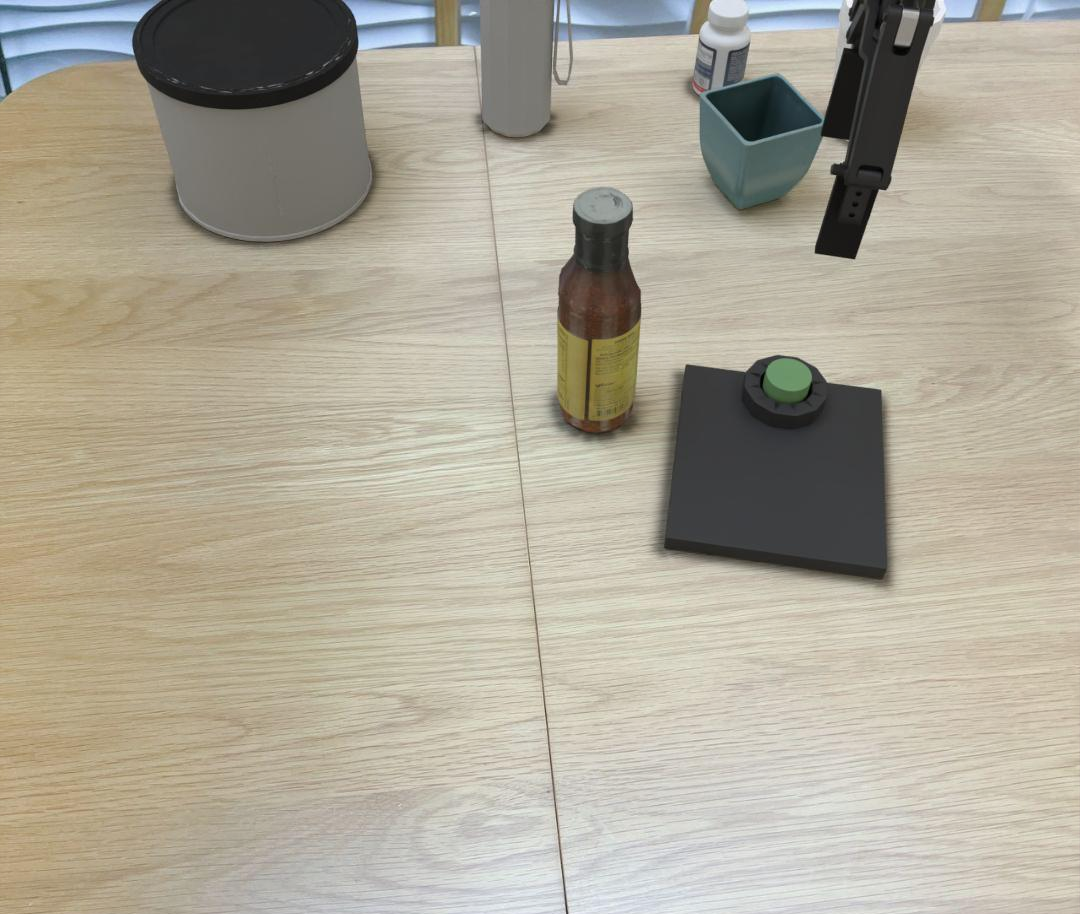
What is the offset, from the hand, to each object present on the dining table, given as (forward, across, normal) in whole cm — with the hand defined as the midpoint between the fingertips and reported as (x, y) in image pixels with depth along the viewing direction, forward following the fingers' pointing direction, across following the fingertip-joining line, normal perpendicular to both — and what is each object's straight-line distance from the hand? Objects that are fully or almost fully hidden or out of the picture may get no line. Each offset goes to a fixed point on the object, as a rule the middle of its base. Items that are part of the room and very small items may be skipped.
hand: (836, 192), depth 77 cm
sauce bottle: (+18, +7, -15) cm, 25 cm away
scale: (+18, +11, 0) cm, 21 cm away
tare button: (+15, +4, 0) cm, 16 cm away
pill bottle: (+18, -41, -9) cm, 46 cm away
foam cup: (+18, -37, +6) cm, 42 cm away
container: (+19, -16, -50) cm, 55 cm away
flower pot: (+18, -24, -5) cm, 31 cm away
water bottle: (+18, -31, -28) cm, 45 cm away
